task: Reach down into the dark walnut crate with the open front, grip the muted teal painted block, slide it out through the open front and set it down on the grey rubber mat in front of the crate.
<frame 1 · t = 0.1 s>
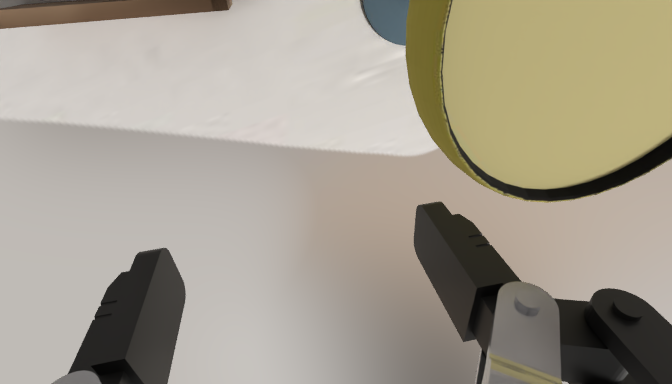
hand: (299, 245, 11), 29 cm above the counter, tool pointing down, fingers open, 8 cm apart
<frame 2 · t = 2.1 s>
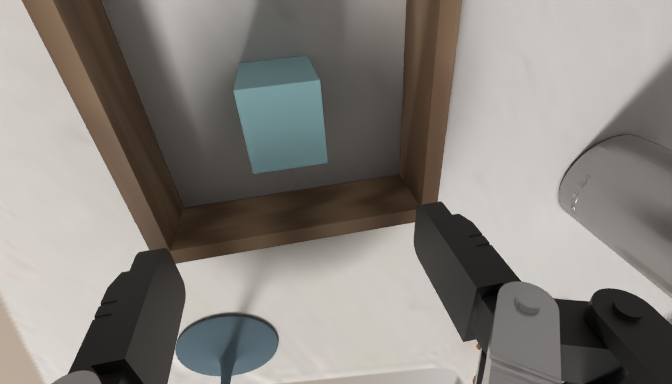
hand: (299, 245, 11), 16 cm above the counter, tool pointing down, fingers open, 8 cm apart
cocktail glass: (228, 344, 38), on the counter
open-front crate: (279, 96, 24), on the counter
teal block: (281, 111, 22), in the open-front crate
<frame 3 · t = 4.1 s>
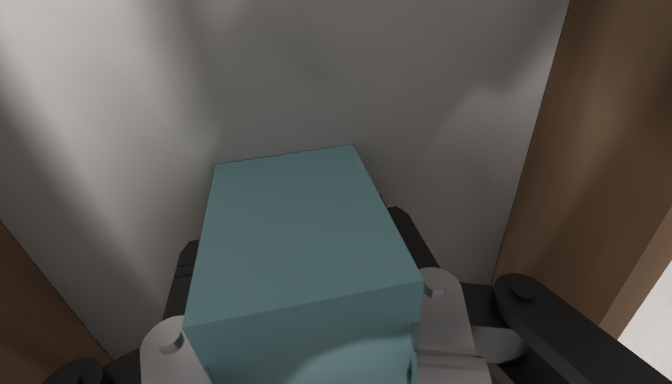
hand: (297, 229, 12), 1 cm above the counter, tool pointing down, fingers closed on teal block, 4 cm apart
open-front crate: (296, 215, 13), on the counter
teal block: (305, 274, 10), in the open-front crate, touching gripper
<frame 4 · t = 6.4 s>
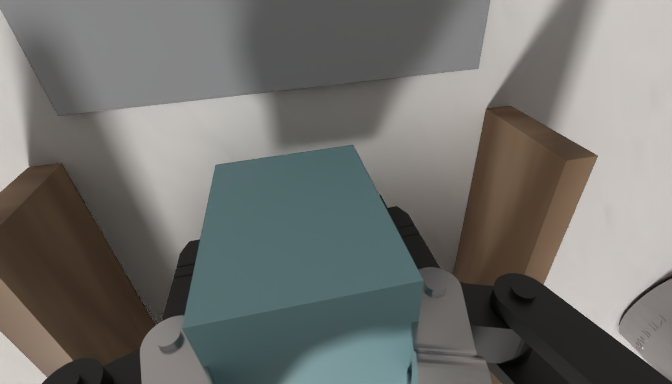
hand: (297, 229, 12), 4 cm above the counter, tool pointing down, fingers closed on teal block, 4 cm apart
open-front crate: (308, 266, 19), on the counter
teal block: (305, 275, 10), point 6 cm above the counter, touching gripper
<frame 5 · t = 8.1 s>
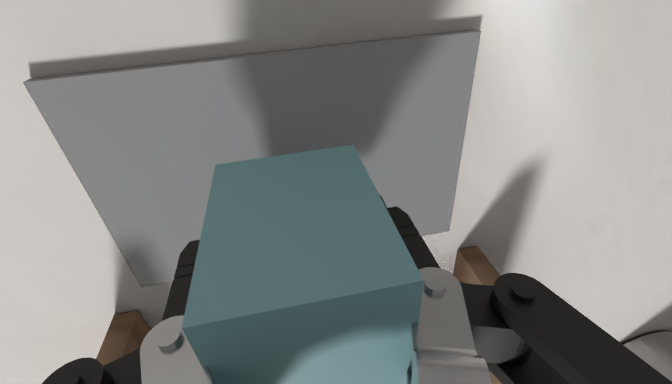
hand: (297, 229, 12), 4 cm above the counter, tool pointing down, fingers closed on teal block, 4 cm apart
rubber mat: (288, 170, 15), on the counter
open-front crate: (320, 356, 24), on the counter
teal block: (305, 275, 10), point 6 cm above the counter, touching gripper
when the fingers open (3 cm above the counter, at t = 9.1 s): teal block drops 1 cm, resting on rubber mat.
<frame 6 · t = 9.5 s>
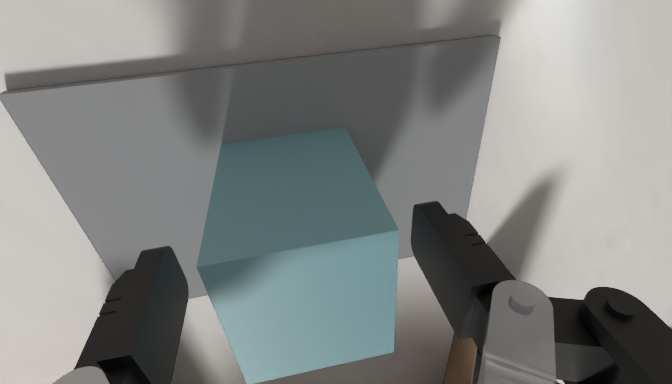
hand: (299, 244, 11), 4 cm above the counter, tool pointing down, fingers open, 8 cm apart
rubber mat: (291, 186, 14), on the counter
open-front crate: (322, 375, 23), on the counter
teal block: (301, 241, 11), on the rubber mat
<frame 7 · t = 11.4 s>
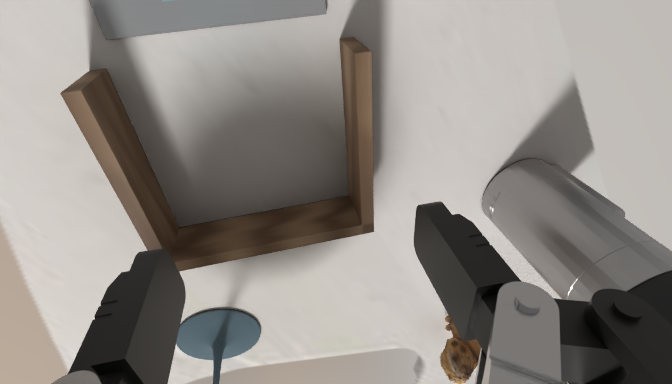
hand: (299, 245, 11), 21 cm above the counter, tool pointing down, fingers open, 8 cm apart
cocktail glass: (219, 333, 46), on the counter
open-front crate: (250, 143, 32), on the counter
lion figurine: (462, 319, 58), on the counter
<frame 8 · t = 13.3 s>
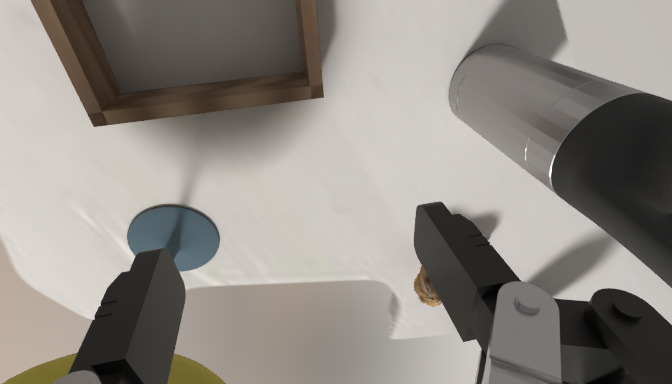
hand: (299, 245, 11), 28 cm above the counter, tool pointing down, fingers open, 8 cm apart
cocktail glass: (175, 238, 44), on the counter
lion figurine: (440, 251, 55), on the counter
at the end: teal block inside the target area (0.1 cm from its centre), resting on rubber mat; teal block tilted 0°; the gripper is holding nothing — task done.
